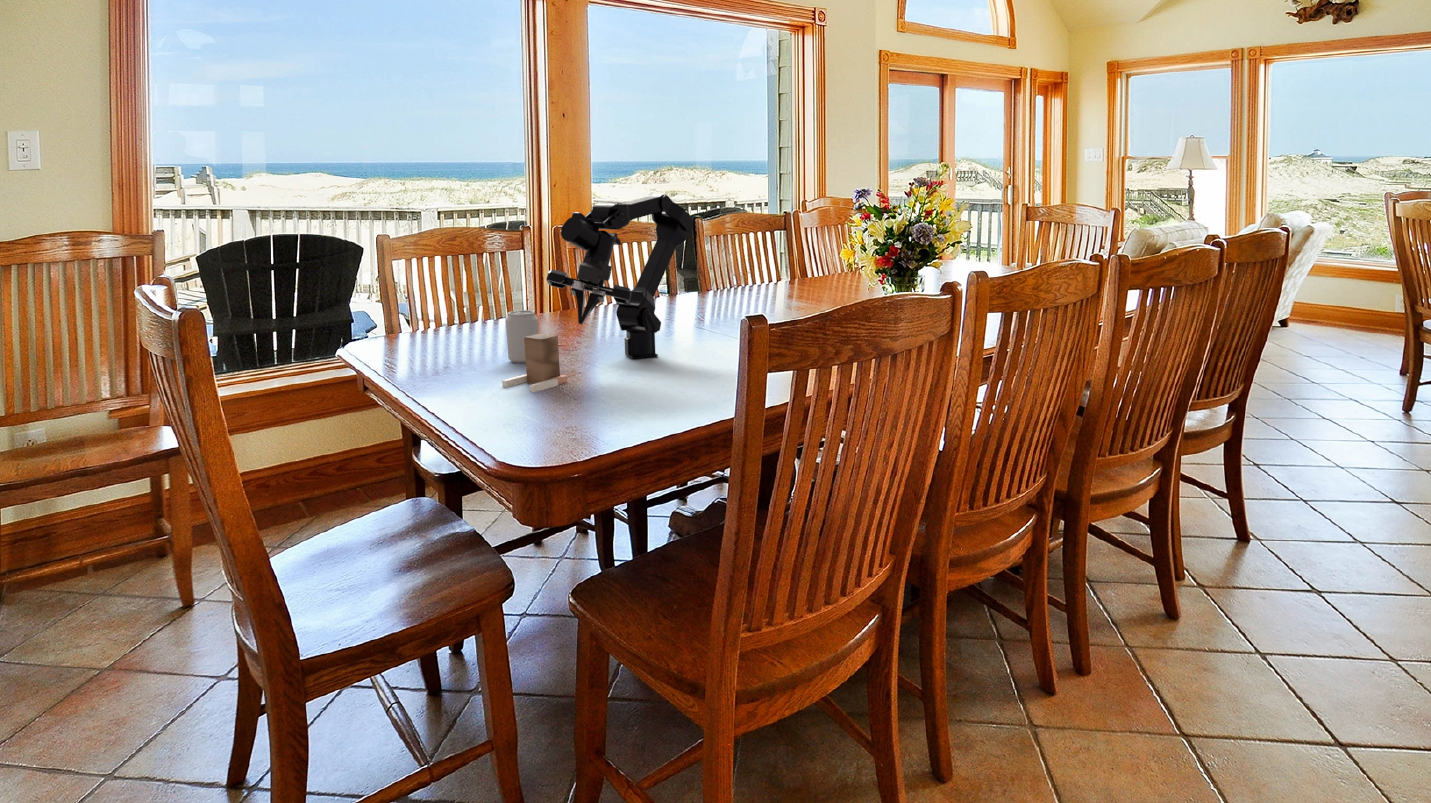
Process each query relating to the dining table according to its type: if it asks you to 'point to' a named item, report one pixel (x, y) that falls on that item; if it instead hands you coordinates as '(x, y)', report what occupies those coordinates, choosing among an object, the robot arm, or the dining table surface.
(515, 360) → the can
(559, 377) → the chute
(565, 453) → the dining table surface
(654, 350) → the robot arm
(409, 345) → the dining table surface
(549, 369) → the block
